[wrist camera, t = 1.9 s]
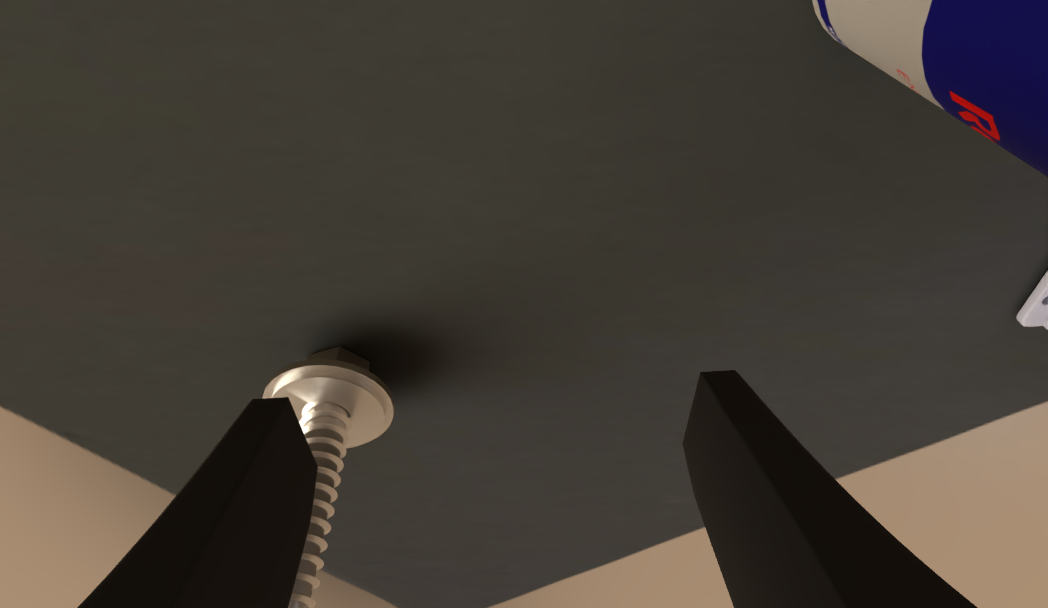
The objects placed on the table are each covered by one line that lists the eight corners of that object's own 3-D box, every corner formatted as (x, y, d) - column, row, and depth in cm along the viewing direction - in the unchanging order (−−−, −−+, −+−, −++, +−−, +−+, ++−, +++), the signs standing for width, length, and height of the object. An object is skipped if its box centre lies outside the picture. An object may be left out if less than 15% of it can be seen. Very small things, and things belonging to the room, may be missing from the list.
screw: (357, 421, 26) (255, 375, 24) (422, 363, 24) (316, 305, 22) (286, 793, 16) (100, 775, 14) (385, 749, 14) (184, 719, 12)
